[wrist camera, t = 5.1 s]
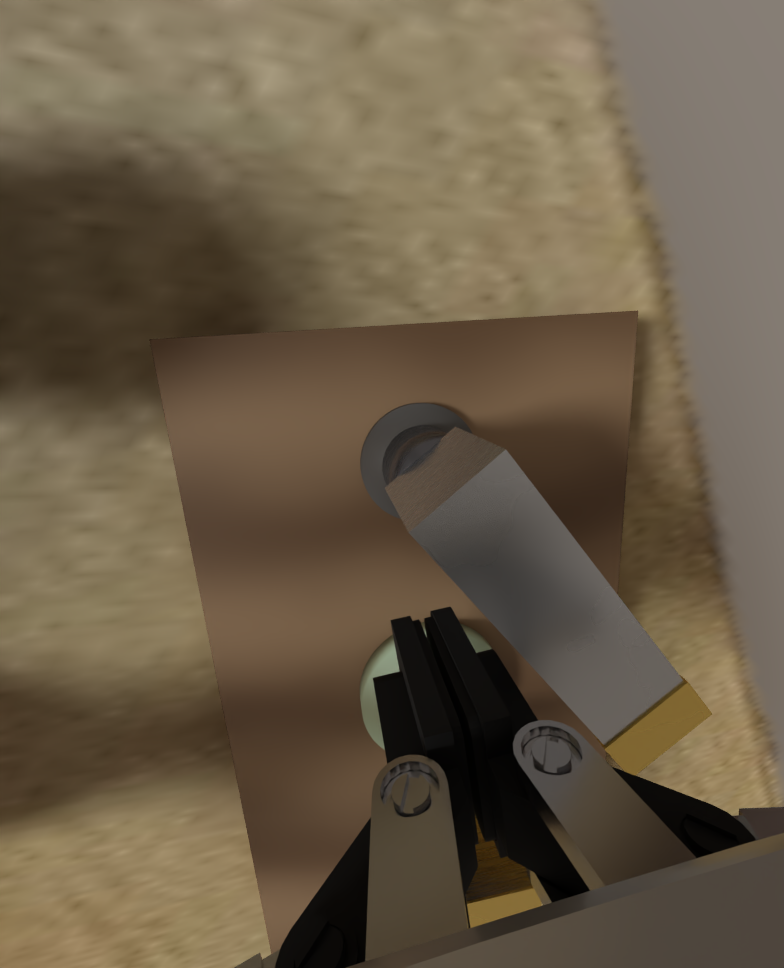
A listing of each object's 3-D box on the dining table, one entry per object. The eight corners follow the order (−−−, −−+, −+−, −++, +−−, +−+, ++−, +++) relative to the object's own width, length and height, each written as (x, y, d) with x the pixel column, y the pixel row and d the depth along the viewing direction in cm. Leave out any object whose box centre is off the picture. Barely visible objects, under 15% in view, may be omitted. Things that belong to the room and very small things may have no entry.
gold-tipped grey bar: (365, 462, 13) (397, 529, 8) (428, 407, 13) (505, 437, 8) (522, 637, 15) (629, 779, 10) (577, 592, 15) (714, 712, 10)
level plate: (173, 343, 14) (134, 337, 11) (598, 317, 16) (662, 306, 13) (277, 908, 20) (271, 998, 17) (572, 841, 22) (610, 913, 19)
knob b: (473, 882, 18) (537, 1098, 13) (414, 896, 18) (455, 1123, 12) (468, 712, 16) (543, 885, 11) (401, 723, 16) (444, 909, 10)
